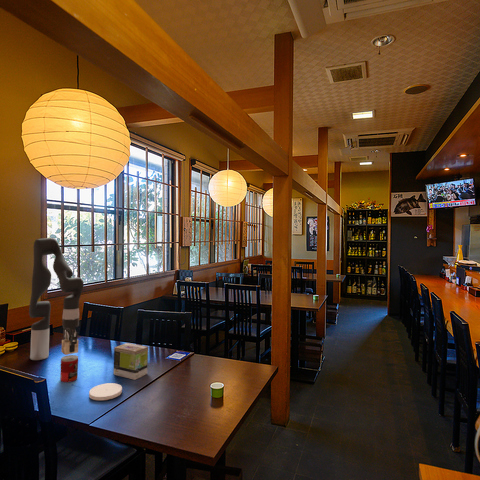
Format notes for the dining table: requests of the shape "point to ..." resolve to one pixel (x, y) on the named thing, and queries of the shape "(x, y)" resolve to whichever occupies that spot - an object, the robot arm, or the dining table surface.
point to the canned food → (69, 368)
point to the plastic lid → (105, 391)
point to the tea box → (130, 360)
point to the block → (68, 347)
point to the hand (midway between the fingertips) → (69, 350)
